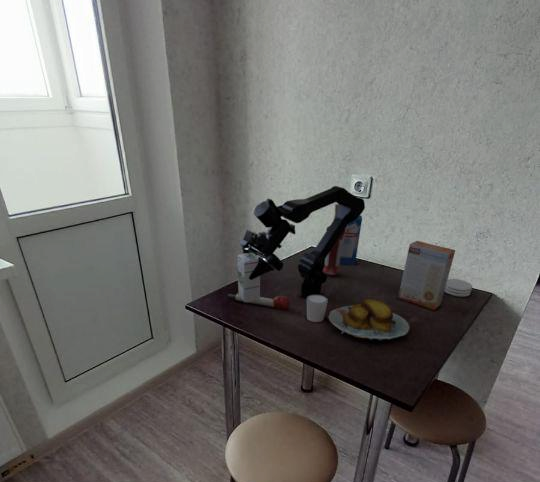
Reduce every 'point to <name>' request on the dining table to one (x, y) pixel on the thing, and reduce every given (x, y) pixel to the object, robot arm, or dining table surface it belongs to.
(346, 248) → the milk carton
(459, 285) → the coaster
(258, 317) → the dining table surface
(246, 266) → the syrup box
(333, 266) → the liquor
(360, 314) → the food on plate
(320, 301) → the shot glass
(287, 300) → the baster
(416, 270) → the cracker box
